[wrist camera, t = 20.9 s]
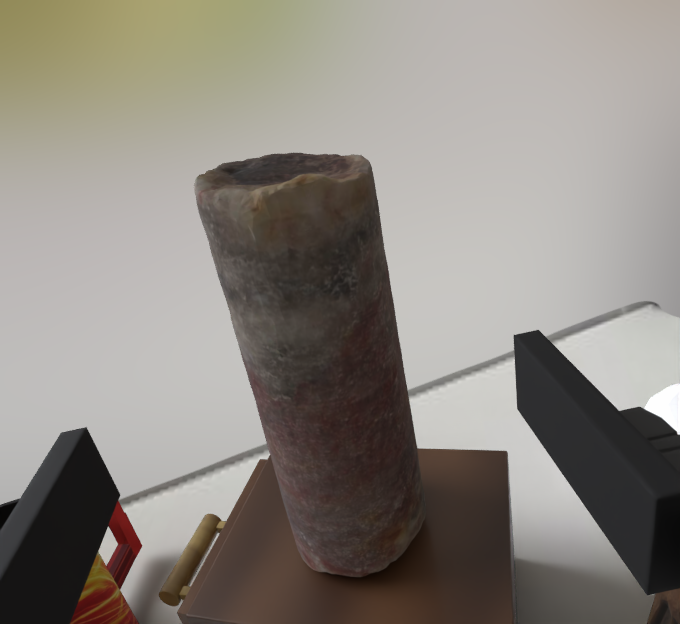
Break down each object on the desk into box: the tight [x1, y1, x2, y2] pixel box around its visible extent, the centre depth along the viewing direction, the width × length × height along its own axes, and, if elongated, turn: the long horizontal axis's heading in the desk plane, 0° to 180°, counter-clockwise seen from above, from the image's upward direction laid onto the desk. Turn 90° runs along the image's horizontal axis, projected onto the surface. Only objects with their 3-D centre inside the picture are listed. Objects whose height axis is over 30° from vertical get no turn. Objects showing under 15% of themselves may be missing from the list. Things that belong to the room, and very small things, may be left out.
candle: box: [194, 153, 426, 577], centre depth 24 cm, size 8×7×20 cm
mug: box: [0, 499, 142, 624], centre depth 33 cm, size 10×14×12 cm
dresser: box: [186, 448, 517, 624], centre depth 31 cm, size 16×13×10 cm
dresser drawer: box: [159, 459, 267, 624], centre depth 32 cm, size 19×11×8 cm, turn 75°
